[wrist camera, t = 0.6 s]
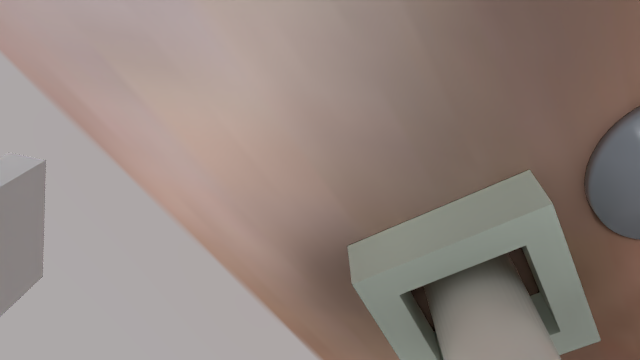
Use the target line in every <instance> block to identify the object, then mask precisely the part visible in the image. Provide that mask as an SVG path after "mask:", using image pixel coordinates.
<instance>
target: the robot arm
mask: <svg viewBox="0 0 640 360" xmlns="http://www.w3.org/2000/svg"><path fill="white" fill-rule="evenodd" d="M45 173H46V160H44V159H39V158H34V157H29V156H24V155H20V154H14V153H10V152H9V153H7V154H5V155H3V156H1V157H0V317H1V316H2V315H3V314H4V313H5V312H6V311H7V310H8V309H9V308H10V307H11V306H12V305H13V304H14V303H15V302H16V301H17V300H19V299H20V298H21V296H23V295H24V294H25V293H26V292H27V291H28V290H29V289H30V288H31V287H32V286H33V285H34V284H35V283H36V282H37V281H38V280H40V279H41V278H42V277H43V247H44V209H45V208H44V207H45Z"/></svg>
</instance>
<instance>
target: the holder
mask: <svg viewBox="0 0 640 360" xmlns="http://www.w3.org/2000/svg"><path fill="white" fill-rule="evenodd" d="M520 247H522V249H523V252H524V254H525V257H526V259H527V262H528V264H529V267H530V269H531V271H532V274H533V276H534V279H535V281H536V284H537V286H538V289H539V291H540V292H539V293H537V294H534V295H531V296H530V298H531V300H532V302H533V304H534V306H535V308H536V310H537V312H538V314H539V316H540V318H541V320H542V322H543V324H544V326H545V328H546V330H547V332H548V334H549V336H550V338H551V340H552V342H553V344H554V346H555V348H556V349H557V351H558V353H559V355H561V354H564V353H567V352H570V351H573V350H576V349H579V348H582V347H585V346H587V345H590V344H593V343H596V342H599V341H601V339H600V336H599V333H598V331H597V328H596V325H595V322H594V319H593V316H592V314H591V311H590V308H589V305H588V302H587V299H586V296H585V294H584V291H583V288H582V285H581V282H580V279H579V277H578V274H577V271H576V268H575V265H574V262H573V260H572V257H571V254H570V251H569V248H568V245H567V242H566V240H565V237H564V234H563V231H562V228H561V225H560V223H559V220H558V217H557V214H556V211H555V208H554V206H553V203H552V202H551V200H550V199H549V197H548V196H547V194H546V193H545V191H544V190H543V188H542V187H541V186H540V184H539V183H538V181H537V180H536V178H535V177H534V175H533V174H532V172H531V171H530V170H527V171H525V172H523V173H520V174H518V175H516V176H513V177H511V178H508V179H506V180H504V181H501V182H499V183H496V184H494V185H492V186H489V187H487V188H485V189H482V190H480V191H477V192H475V193H473V194H470V195H468V196H466V197H463V198H461V199H458V200H456V201H454V202H451V203H449V204H447V205H444V206H442V207H439V208H437V209H435V210H432V211H430V212H427V213H425V214H423V215H420V216H418V217H416V218H413V219H411V220H408V221H406V222H404V223H401V224H399V225H397V226H394V227H392V228H389V229H387V230H385V231H382V232H380V233H377V234H375V235H373V236H370V237H368V238H366V239H363V240H361V241H358V242H356V243H354V244H351V245H349V246H347V248H348V257H349V265H350V273H351V281H352V285H353V287H354V288H355V290H356V292H357V293H358V295H359V296H360V298H361V299H362V301H363V303H364V304H365V306H366V307H367V309H368V310H369V312H370V313H371V315H372V317H373V318H374V320H375V321H376V323H377V324H378V326H379V328H380V329H381V331H382V332H383V334H384V335H385V337H386V338H387V340H388V342H389V343H390V345H391V346H392V348H393V349H394V351H395V353H396V354H397V356H398V357H399V359H400V360H444V359H443V355H442V351H441V348H440V344H439V341H438V337H437V334H436V331H435V332H433V330H432V328H431V327H430V325H429V323H428V321H427V320H426V318H425V316H424V314H423V313H422V311H421V309H420V307H419V306H418V304H417V302H416V300H415V299H414V297H413V295H412V293H411V292H410V291H411V290H413V289H416V288H418V287H421V286H424V285H426V284H429V283H431V282H434V281H436V280H439V279H441V278H444V277H446V276H449V275H452V274H454V273H457V272H459V271H462V270H464V269H467V268H469V267H472V266H475V265H477V264H480V263H482V262H485V261H487V260H490V259H492V258H495V257H497V256H500V255H503V254H505V253H508V252H510V251H513V250H515V249H518V248H520Z"/></svg>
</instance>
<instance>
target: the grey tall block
mask: <svg viewBox="0 0 640 360" xmlns="http://www.w3.org/2000/svg"><path fill="white" fill-rule="evenodd" d="M423 287H424V291H425V294H426V298H427V301H428V305H429V308H430V312H431V316H432V319H433V323H434V326H435V330H436V334H437V337H438V341H439V344H440V348H441V351H442V355H443V359H444V360H562V359H561V357H560V355H559V353H558V351H557V349H556V348H555V346H554V344H553V342H552V340H551V338H550V336H549V334H548V332H547V330H546V328H545V326H544V324H543V322H542V320H541V318H540V316H539V314H538V312H537V310H536V308H535V306H534V304H533V302H532V300H531V298H530V296H529V294H528V292H527V290H526V288H525V286H524V284H523V282H522V280H521V278H520V276H519V274H518V272H517V270H516V268H515V266H514V264H513V262H512V260H511V258H510V256H509V254H508V253H505V254H503V255H500V256H497V257H495V258H492V259H490V260H487V261H485V262H482V263H480V264H477V265H475V266H472V267H469V268H467V269H464V270H462V271H459V272H457V273H454V274H452V275H449V276H446V277H444V278H441V279H439V280H436V281H434V282H431V283H429V284H426V285H424V286H423Z"/></svg>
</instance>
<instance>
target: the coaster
mask: <svg viewBox="0 0 640 360" xmlns="http://www.w3.org/2000/svg"><path fill="white" fill-rule="evenodd" d="M584 185H585V193H586V197H587V200H588V203H589V205H590V207H591V208H592V210H593V211H594V212H595V214H596V215H597V216H598V217H599V219H600V220H601V221H602V222H603V223H604V224H605V225H606V226H607V227H608V228H609V229H611V230H612V231H614V232H616V233H618V234H620V235H622V236H625V237H629V238H633V239H640V106H639V107H637V108H635V109H634V110H632V111H631V112H629V113H628V114H626V115H625V116H624V117H623V118H621V119H620V120H619V121H618V122H617V123H615V124H614V125H613V126H612V127H611V128H610V129H609V130H608V132H607V133H606V134H605V135H604V136H603V137H602V139H601V140H600V142H599V143H598V145H597V146H596V148H595V149H594V151H593V153H592V155H591V157H590V160H589V162H588V165H587V169H586V173H585V183H584Z"/></svg>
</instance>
